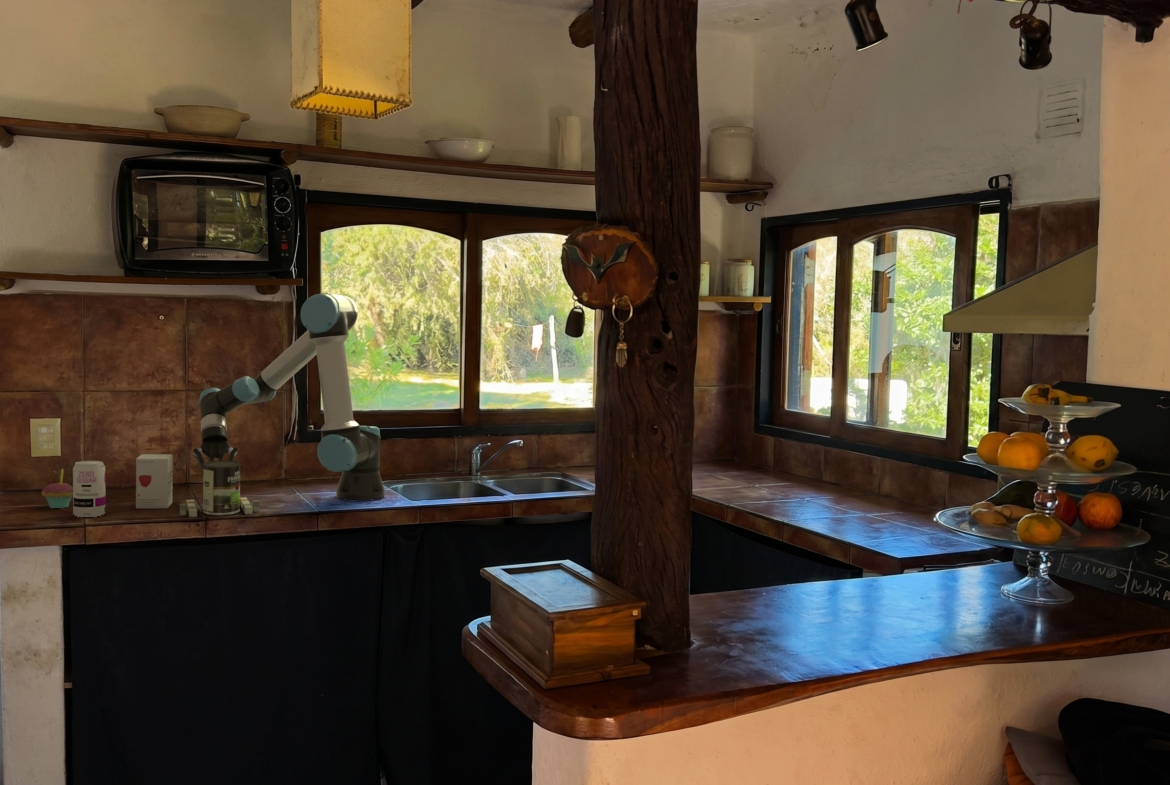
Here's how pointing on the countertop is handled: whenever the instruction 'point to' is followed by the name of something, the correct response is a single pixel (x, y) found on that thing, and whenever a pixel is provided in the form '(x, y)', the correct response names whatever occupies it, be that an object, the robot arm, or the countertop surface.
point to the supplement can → (89, 489)
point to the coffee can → (221, 487)
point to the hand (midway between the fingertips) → (218, 495)
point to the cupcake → (58, 493)
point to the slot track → (243, 502)
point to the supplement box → (154, 480)
